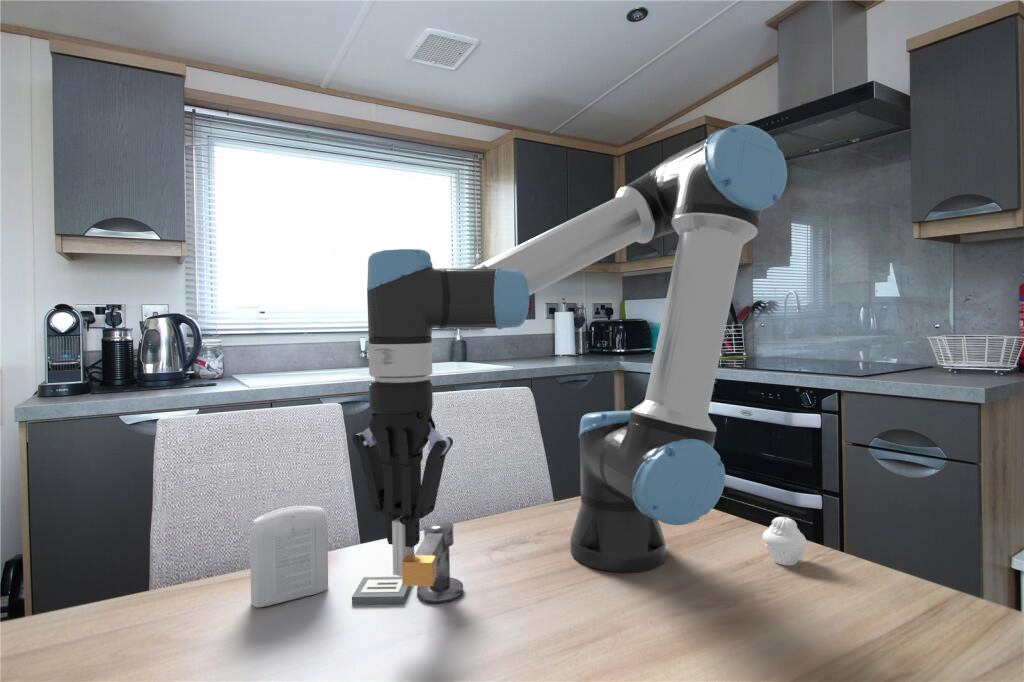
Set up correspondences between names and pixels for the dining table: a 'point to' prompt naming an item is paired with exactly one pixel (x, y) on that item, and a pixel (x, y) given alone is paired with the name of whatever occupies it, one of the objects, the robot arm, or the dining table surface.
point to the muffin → (784, 541)
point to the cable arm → (427, 555)
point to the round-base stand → (441, 584)
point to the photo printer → (288, 555)
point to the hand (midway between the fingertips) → (403, 570)
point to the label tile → (380, 591)
